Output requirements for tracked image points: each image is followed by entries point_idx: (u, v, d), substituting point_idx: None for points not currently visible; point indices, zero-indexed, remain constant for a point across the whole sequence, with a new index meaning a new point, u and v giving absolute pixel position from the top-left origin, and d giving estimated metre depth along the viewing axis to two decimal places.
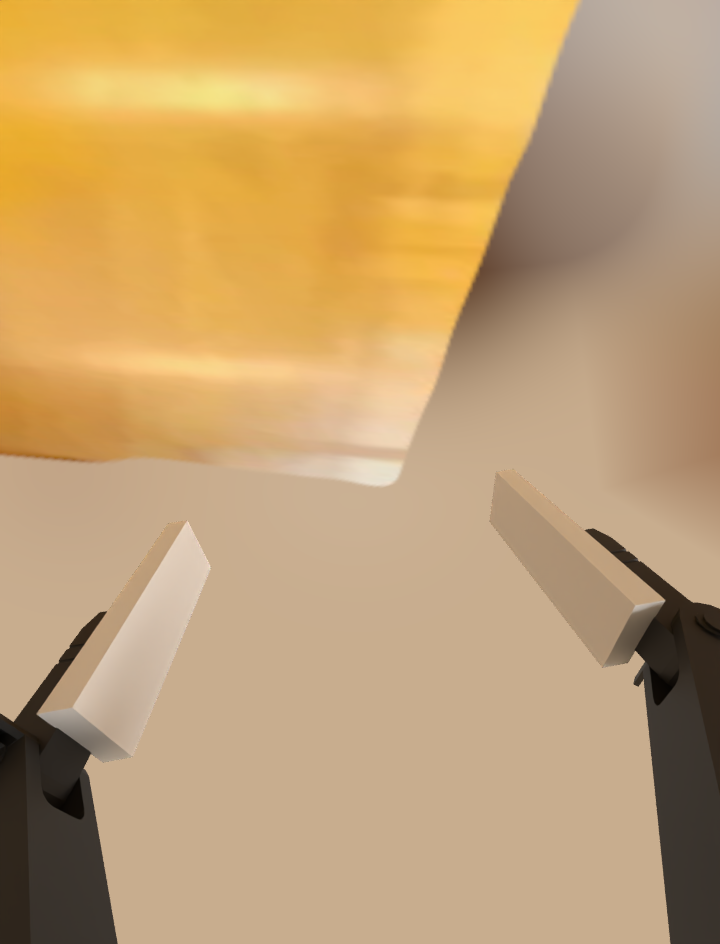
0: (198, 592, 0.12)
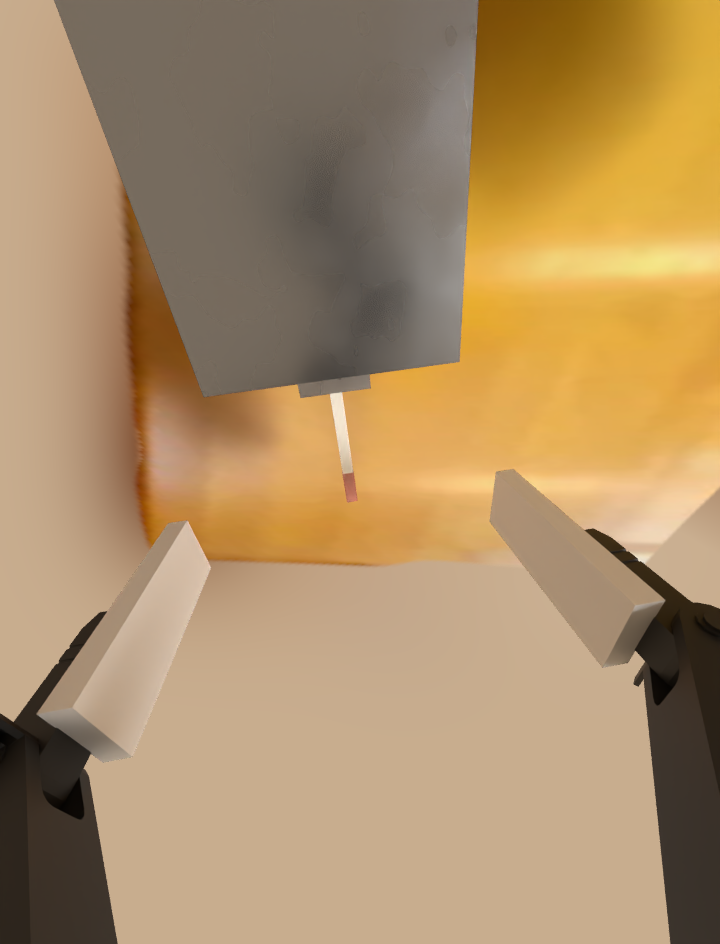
0: (198, 592, 0.12)
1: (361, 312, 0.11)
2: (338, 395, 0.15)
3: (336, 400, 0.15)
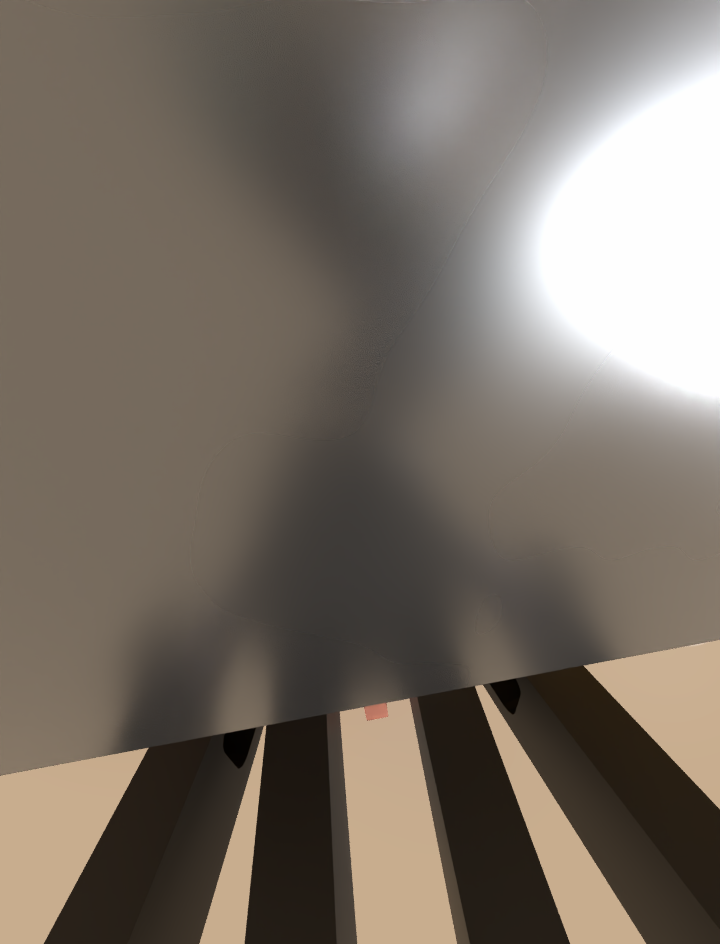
0: None
1: (589, 427, 0.01)
2: None
3: None
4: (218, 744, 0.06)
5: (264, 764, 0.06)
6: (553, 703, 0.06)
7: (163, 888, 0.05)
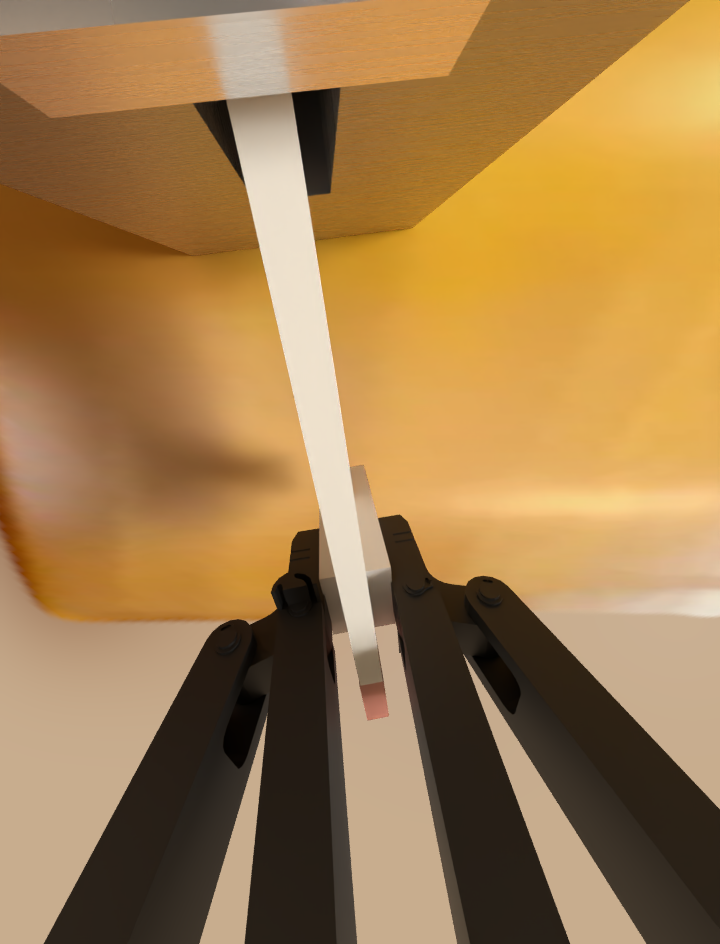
0: None
1: None
2: (354, 561, 0.06)
3: (347, 570, 0.06)
4: (218, 743, 0.06)
5: (264, 764, 0.06)
6: (553, 703, 0.06)
7: (163, 888, 0.05)
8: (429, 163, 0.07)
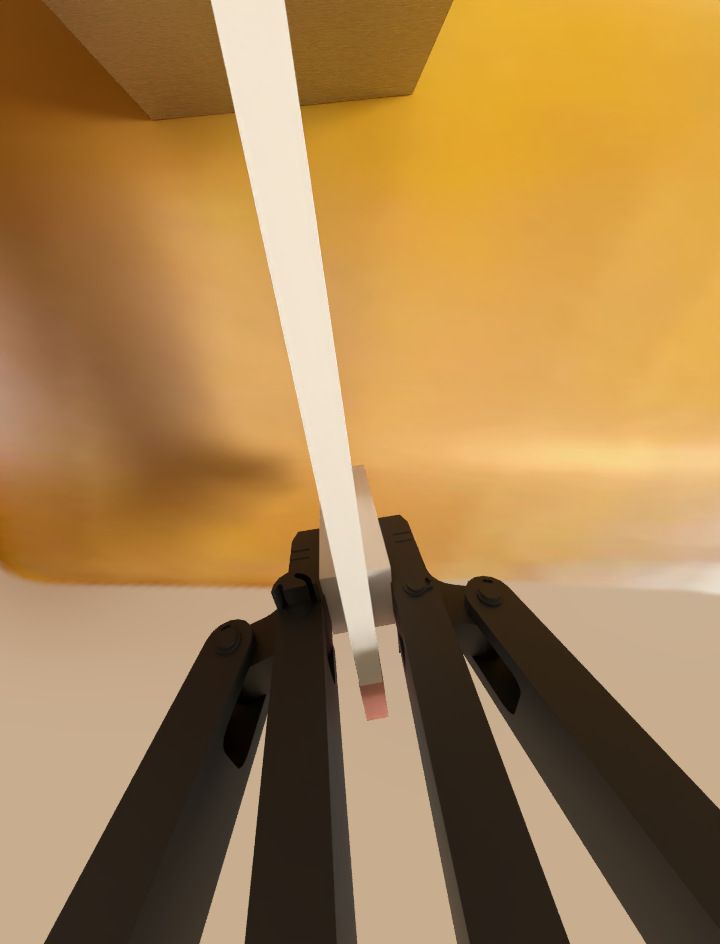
0: None
1: None
2: (355, 561, 0.06)
3: (348, 570, 0.06)
4: (218, 743, 0.06)
5: (264, 764, 0.06)
6: (553, 703, 0.06)
7: (163, 888, 0.05)
8: None
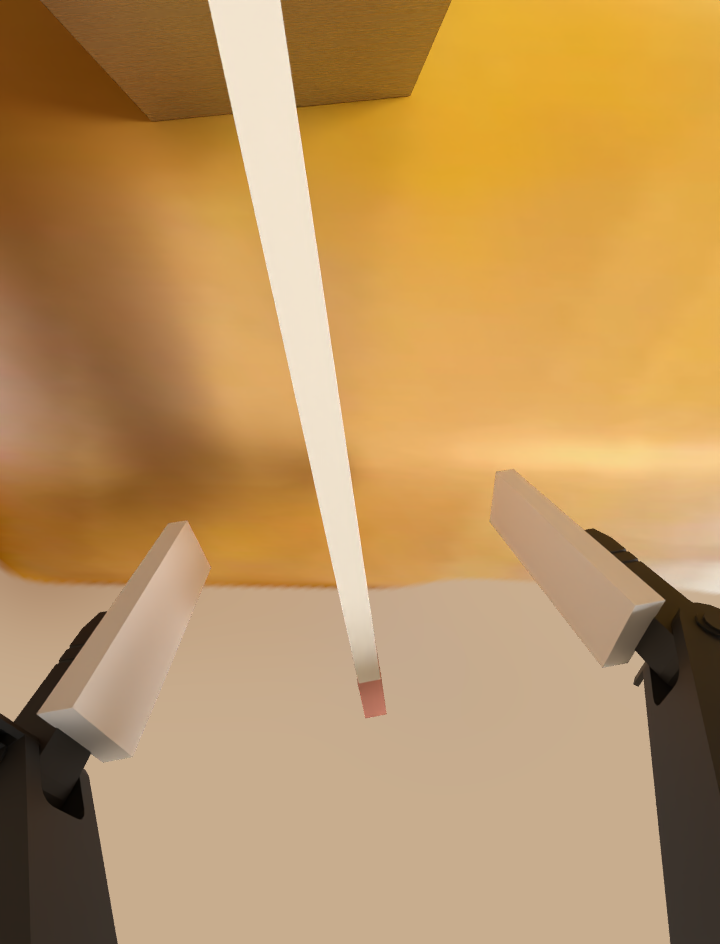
0: (198, 592, 0.12)
1: None
2: (353, 559, 0.06)
3: (346, 568, 0.06)
4: None
5: None
6: None
7: None
8: None
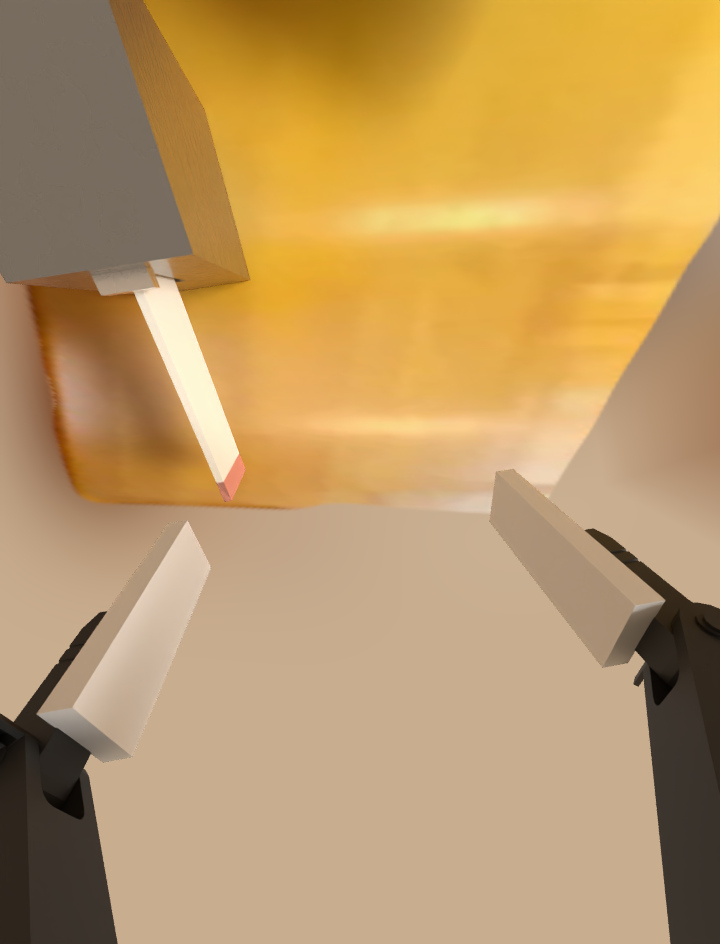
0: (198, 592, 0.12)
1: (104, 214, 0.15)
2: (201, 434, 0.24)
3: (200, 437, 0.24)
4: None
5: None
6: None
7: None
8: (209, 274, 0.24)
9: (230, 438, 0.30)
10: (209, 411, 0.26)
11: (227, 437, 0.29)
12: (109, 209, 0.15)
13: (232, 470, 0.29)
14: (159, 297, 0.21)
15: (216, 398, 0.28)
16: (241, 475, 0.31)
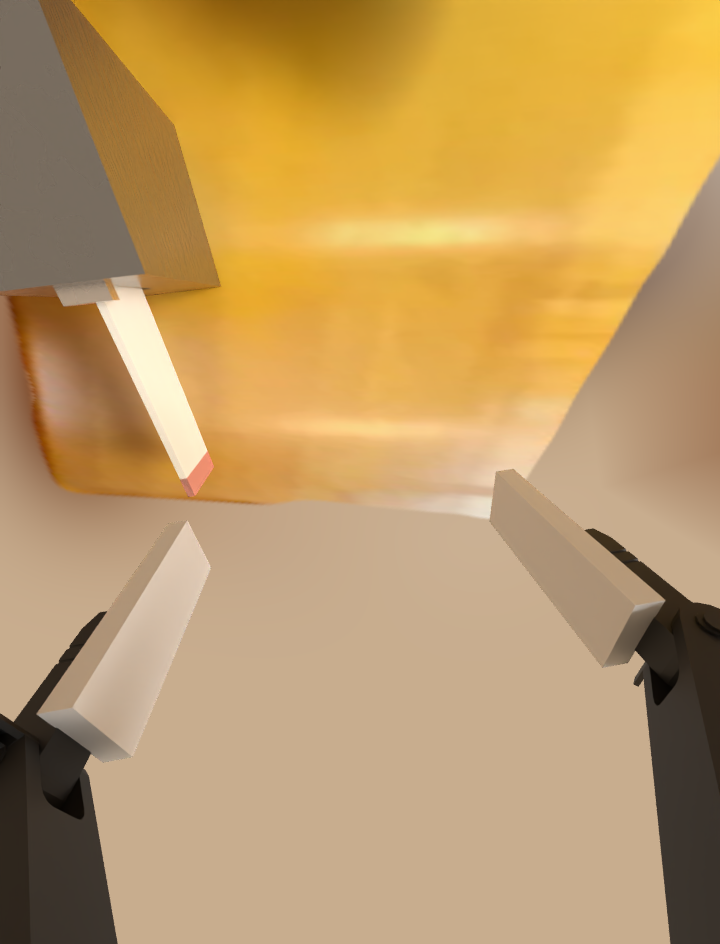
0: (198, 592, 0.12)
1: (61, 236, 0.17)
2: (163, 434, 0.26)
3: (163, 437, 0.26)
4: None
5: None
6: None
7: None
8: (173, 284, 0.25)
9: (197, 437, 0.32)
10: (174, 412, 0.28)
11: (194, 435, 0.31)
12: (65, 232, 0.17)
13: (198, 467, 0.31)
14: (122, 306, 0.23)
15: (183, 399, 0.30)
16: (208, 472, 0.33)
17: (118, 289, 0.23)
